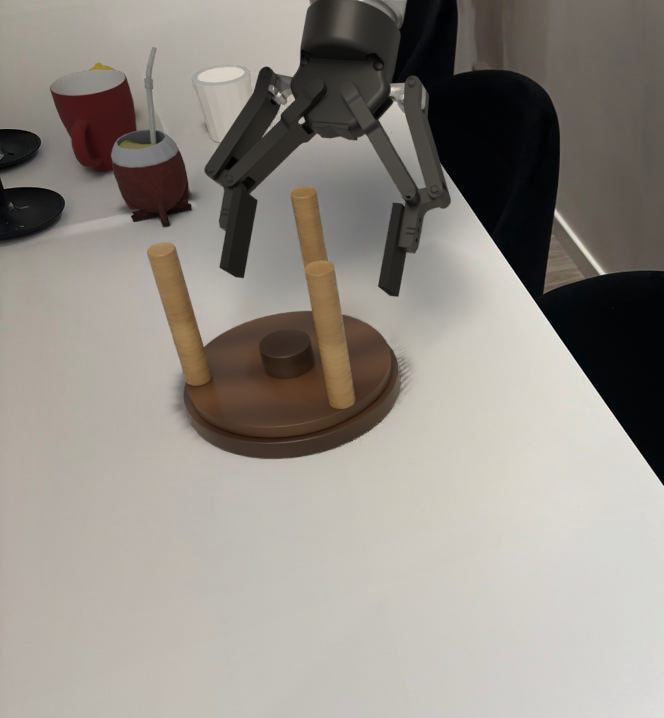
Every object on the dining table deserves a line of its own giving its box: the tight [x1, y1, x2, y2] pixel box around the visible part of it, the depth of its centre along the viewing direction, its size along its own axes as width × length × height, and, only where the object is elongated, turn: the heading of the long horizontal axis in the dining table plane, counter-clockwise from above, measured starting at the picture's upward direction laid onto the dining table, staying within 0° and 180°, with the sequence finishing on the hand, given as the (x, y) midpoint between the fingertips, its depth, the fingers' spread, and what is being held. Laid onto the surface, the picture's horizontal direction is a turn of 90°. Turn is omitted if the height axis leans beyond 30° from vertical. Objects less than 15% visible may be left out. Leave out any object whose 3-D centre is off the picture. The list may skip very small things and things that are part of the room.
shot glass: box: [191, 64, 253, 144], centre depth 115 cm, size 7×7×7 cm
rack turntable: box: [146, 185, 392, 438], centre depth 72 cm, size 16×16×12 cm
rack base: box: [183, 342, 401, 460], centre depth 77 cm, size 17×17×2 cm
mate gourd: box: [111, 46, 193, 228], centre depth 97 cm, size 8×8×15 cm
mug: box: [49, 69, 138, 172], centre depth 106 cm, size 10×8×10 cm
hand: (308, 282), depth 76 cm, fingers open, 13 cm apart
